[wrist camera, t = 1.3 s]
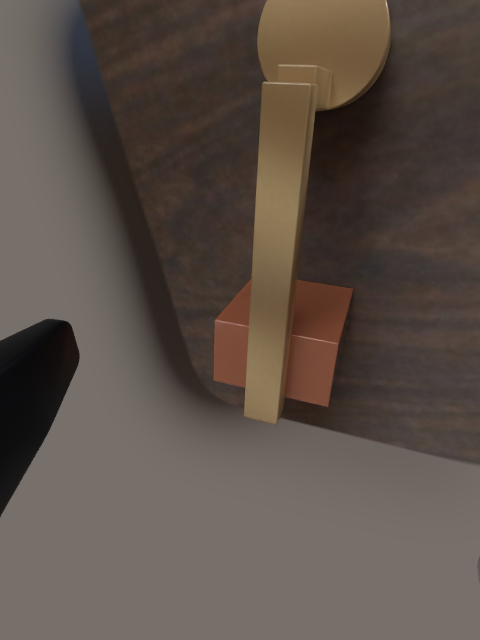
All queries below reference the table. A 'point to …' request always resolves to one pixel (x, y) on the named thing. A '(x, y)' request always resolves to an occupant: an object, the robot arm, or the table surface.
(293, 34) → the wooden disc paddle
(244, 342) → the reddish-brown rectangular block
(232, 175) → the table surface
